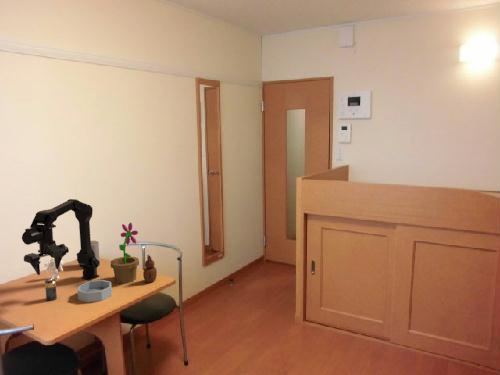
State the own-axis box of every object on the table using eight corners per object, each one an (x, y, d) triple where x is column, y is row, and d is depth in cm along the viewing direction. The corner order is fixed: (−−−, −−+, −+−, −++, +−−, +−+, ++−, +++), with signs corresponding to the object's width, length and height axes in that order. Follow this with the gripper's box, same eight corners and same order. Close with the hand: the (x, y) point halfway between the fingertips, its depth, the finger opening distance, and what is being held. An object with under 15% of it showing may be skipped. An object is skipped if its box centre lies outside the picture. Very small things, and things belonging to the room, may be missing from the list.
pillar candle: (78, 268, 224) (76, 242, 221) (87, 262, 233) (86, 237, 231) (94, 269, 222) (92, 243, 220) (103, 263, 231) (102, 238, 229)
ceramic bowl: (96, 287, 197) (95, 278, 197) (118, 292, 191) (117, 283, 190) (71, 298, 184) (71, 289, 184) (94, 304, 178) (93, 294, 177)
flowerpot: (145, 277, 210) (143, 222, 205) (125, 287, 197) (122, 228, 193) (125, 273, 216) (123, 219, 212) (105, 282, 204) (101, 225, 199)
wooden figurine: (149, 284, 200) (148, 256, 198) (141, 282, 203) (140, 254, 201) (159, 280, 206) (158, 252, 204) (151, 278, 209) (150, 250, 207)
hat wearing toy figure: (64, 275, 213) (62, 254, 211) (64, 277, 209) (63, 256, 207) (45, 278, 208) (43, 256, 207) (45, 281, 205) (43, 258, 203)
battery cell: (52, 296, 187) (51, 276, 185) (59, 298, 185) (57, 278, 183) (44, 300, 183) (42, 280, 181) (50, 301, 181) (48, 281, 179)
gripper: (37, 246, 168) (40, 281, 170) (75, 236, 184) (77, 268, 186) (21, 242, 173) (24, 277, 175) (60, 233, 189) (62, 264, 191)
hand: (48, 271), depth 182 cm, fingers open, 9 cm apart
